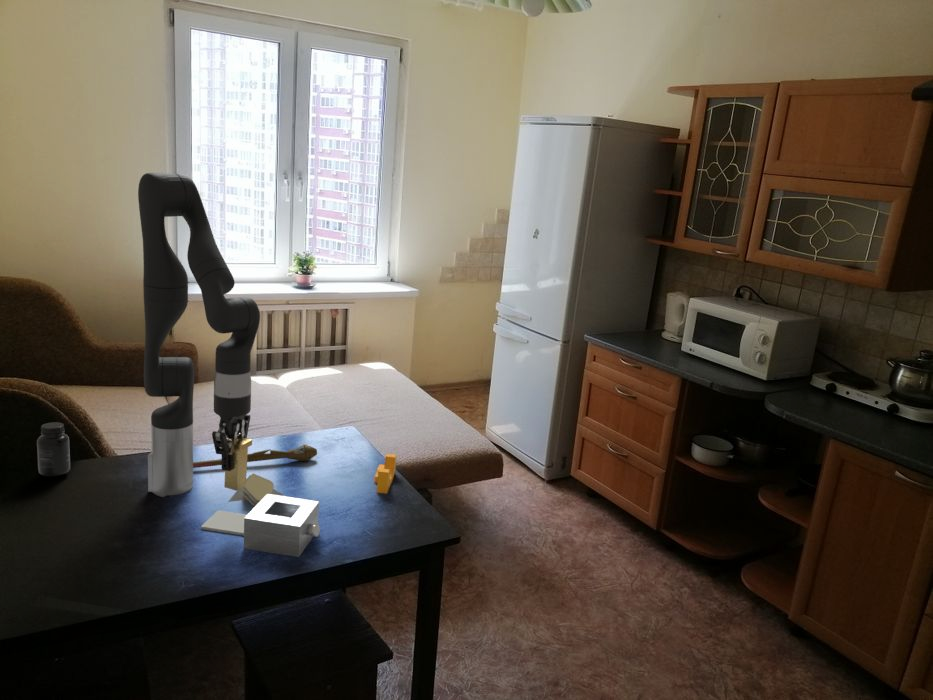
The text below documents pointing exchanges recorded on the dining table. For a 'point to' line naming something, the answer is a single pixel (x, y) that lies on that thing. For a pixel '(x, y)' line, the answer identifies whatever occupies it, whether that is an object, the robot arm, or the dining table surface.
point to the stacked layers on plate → (255, 490)
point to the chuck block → (281, 525)
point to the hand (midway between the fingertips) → (231, 466)
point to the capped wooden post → (238, 465)
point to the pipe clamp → (385, 474)
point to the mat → (226, 522)
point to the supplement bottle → (53, 450)
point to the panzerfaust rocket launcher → (269, 456)
